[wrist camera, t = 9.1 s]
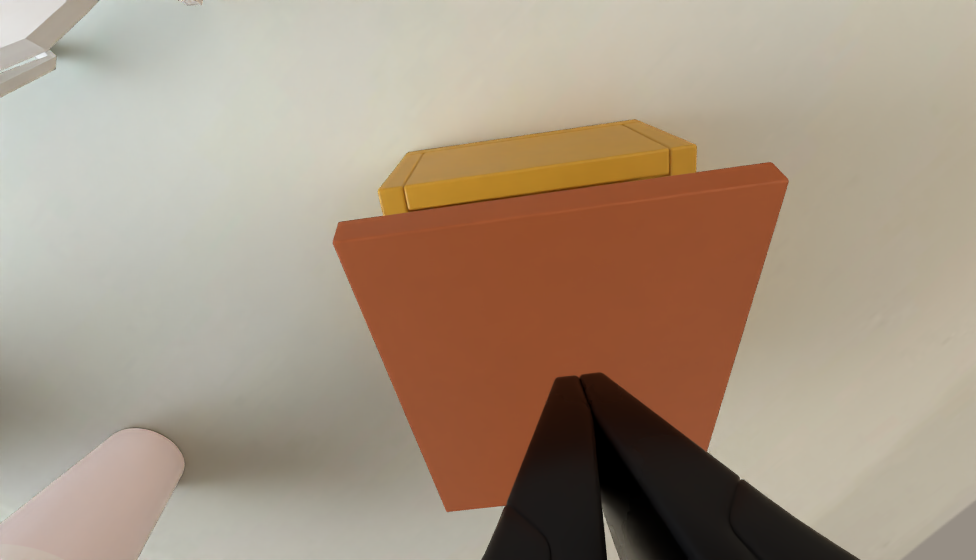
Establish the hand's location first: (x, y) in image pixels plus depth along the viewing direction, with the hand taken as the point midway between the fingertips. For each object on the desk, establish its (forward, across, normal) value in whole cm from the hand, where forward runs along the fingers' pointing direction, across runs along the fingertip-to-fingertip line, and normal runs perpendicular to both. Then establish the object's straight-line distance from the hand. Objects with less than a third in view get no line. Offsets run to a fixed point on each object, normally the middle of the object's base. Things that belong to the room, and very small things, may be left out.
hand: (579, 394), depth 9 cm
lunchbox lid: (+4, 0, +2) cm, 4 cm away
